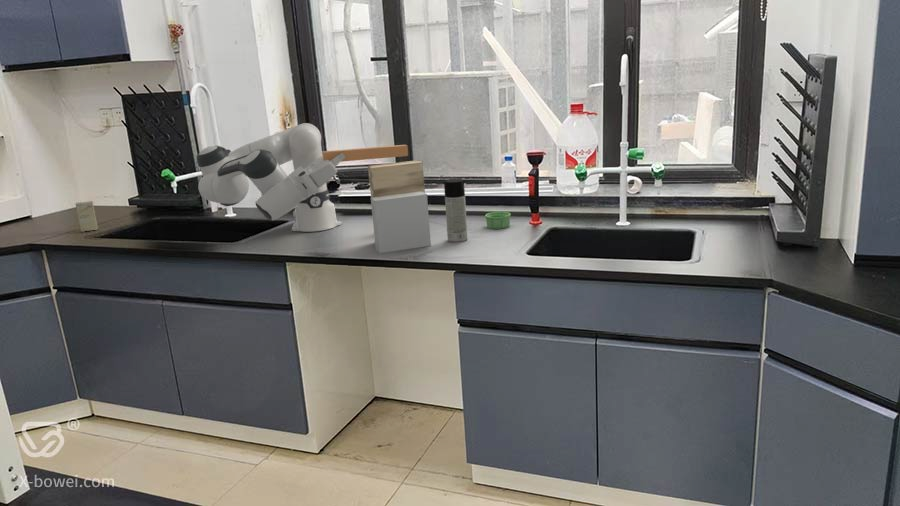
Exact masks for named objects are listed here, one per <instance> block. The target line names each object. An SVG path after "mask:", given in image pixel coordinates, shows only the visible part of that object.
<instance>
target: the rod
mask: <svg viewBox="0 0 900 506" xmlns="http://www.w3.org/2000/svg"><path fill="white" fill-rule="evenodd" d="M408 148H409V147H408V145H407V144H399V145H397V144H396V145H387V146H385V145H384V146H383V145H382V146H373V147H360V148H347V149H336V150H322V155H323V160H324V161H325V160H329V161H330V160H332V159H334V158H335V157H336V156H337V155H338V154H340V153H343V154H344V156H345V158H344V159H343V160H342V161H341V162H340V163H342V162H353V161H363V160H366V161H367V160H374V159H375V160H376V159H377V160H378V159H385V158H387V159H388V158H397V157H409V149H408Z"/></svg>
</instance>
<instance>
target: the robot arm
mask: <svg viewBox="0 0 900 506" xmlns="http://www.w3.org/2000/svg"><path fill="white" fill-rule="evenodd" d="M322 151H323V150H322V134H321V132H320V130H319V129H318V127H317V126H315V125H314V124H312V123H310V122H308V123H307V122H304V123H301V124H297V125H294V126H291V127H289V128H287V129H284V130H281V131H278V132H276V133H274V134H271V135H269V136H266V137H263V138H260V139H258V140H255V141H253V142H249V143H247V144H245V145H242V146H240V147H238V148H236V149H234V150H232V151H231V150H230V149H226V148H225V147H223V146H220V145H211V146H207V147H205V148H203V149H201V151H199V152H198V153H197V155H196V159H195V160H196V163H197V166H198V167H199V168H200V169H199V170H200V172H201V173H202V177H201V178H200V180H199V182H198V184H197V185H198V186H197V187H198V192H199V195H200V196H201V197H202V198H203V199H204V200H207V201H209V202H212V203H217V204H220V205H221V206H224V207H231V206H235V205H237V204H239V203H240V202H242V201H243V200H244V199H245V198H246V196H247V195H248V192H249V190H250V189H249V188H250V184H249V180H250V181H251V182H252V183H253V185H254V186H255V187H256V188H257V189H258V191H259V192H260V194H261V196H260V197H259V198H258V199H257V200H255V203H254V204H255V206H256V209H258V211H259V212H260V213H261V214H262V215H263V216H264V217H265V218H266V219H268V220H269V221H275V220H278V219H280V218H282V217H283V216H284V215H286V214H288V213H289V212H291V211H292V210H293V209H294V210H293V211H292V214H293V215H292V216H293V218H294V222H293V225H292V226H291V231H292V232H303V233H306V232H309V233H310V232H321V231H326V230H329V229H330V230H331V229H333V228H335V227H337V226H340V225H342V221H340V220H338V219H337V214H336V209H335V204H334V202H332V201H331V200H330V191H329V189H328V187H327V186H328V185H327V182H329V181H330V180H331V179H332V178H333V177H335V175H337V173H338V171H339V170H338V168H337V166H338V165H339V164H340V163H342V162H341V161H342V160H343V159H344V158H345V156H344V154H343V153H340V154H338V155H337V156H336V157H335V158H334V159H332V160H330V161H329V160H325V161H324V160H323V155H322ZM290 161H292V165H293V171H292V172H291V173H290V174H288V175H287V173H286V172H285V170H284V169H283V168H282V165H284V164H286V163H288V162H290Z"/></svg>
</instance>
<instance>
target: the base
mask: <svg viewBox="0 0 900 506" xmlns="http://www.w3.org/2000/svg"><path fill="white" fill-rule="evenodd" d="M370 203H371V217H372V225H373V235H374V236H373V237H374V244H375V250H376V251H377V252H378V253H379V254H385V253H390V252H398V251H405V250H411V249H417V248H418V249H419V248H424V247H430V246H432V243H431V230H430V218H429V216H430V215H429V206H428V203H429V202H428V194H427V193H426V192H425V193H424V192H422V191H420V192H412V193H405V194H397V195H389V196H381V197H373V198H371V197H370Z"/></svg>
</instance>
